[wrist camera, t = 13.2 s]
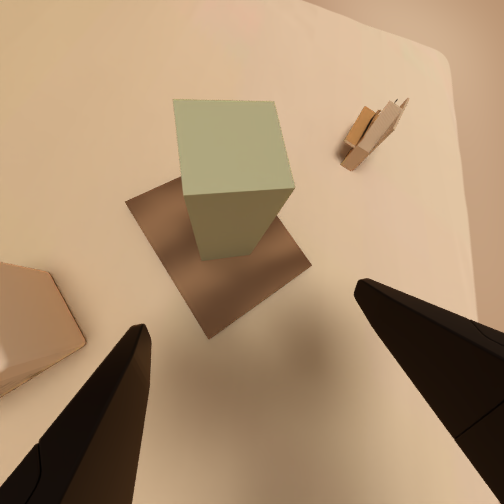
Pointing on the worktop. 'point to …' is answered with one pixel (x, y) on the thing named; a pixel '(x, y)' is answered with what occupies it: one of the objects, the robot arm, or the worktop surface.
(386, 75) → the worktop surface
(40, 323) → the container
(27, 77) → the worktop surface
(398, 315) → the robot arm
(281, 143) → the sage block
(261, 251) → the walnut board
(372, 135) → the architectural model
